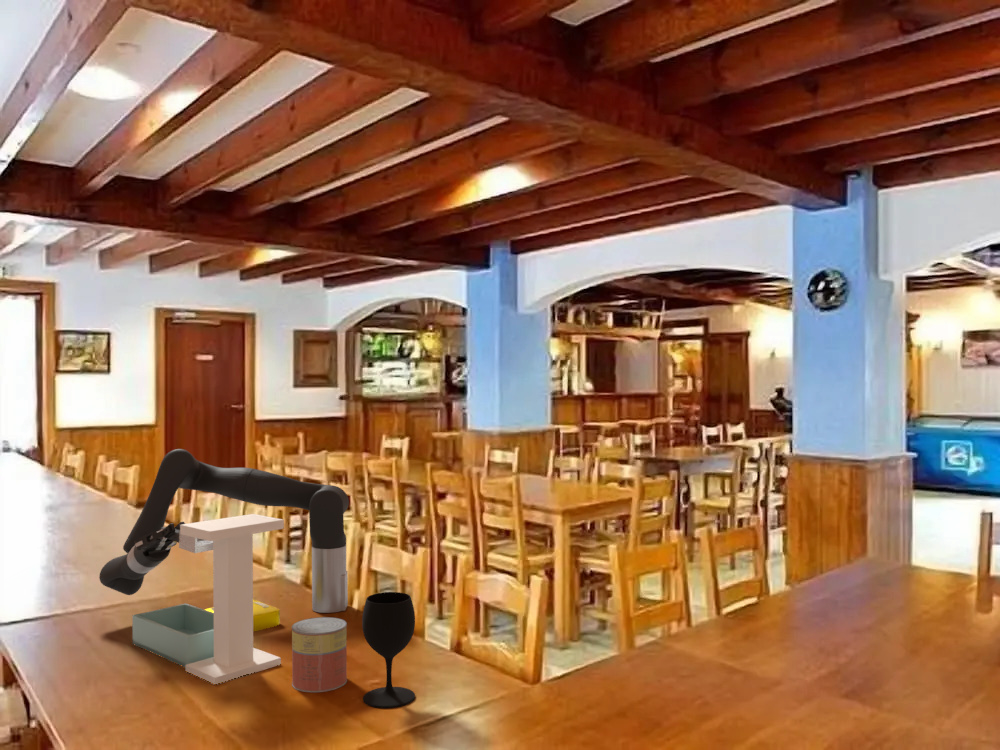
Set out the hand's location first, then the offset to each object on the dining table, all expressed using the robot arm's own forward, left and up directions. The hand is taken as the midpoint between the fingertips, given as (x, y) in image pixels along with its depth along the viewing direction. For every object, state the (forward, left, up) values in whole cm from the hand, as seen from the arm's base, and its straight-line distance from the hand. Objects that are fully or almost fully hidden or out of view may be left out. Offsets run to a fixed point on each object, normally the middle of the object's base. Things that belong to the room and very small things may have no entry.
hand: (178, 526), depth 201 cm
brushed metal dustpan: (-3, +3, -4) cm, 5 cm away
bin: (-2, +2, -28) cm, 29 cm away
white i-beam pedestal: (-17, +17, -28) cm, 37 cm away
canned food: (-37, +27, -29) cm, 54 cm away
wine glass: (-52, +37, -29) cm, 69 cm away
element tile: (-11, -16, -29) cm, 35 cm away
